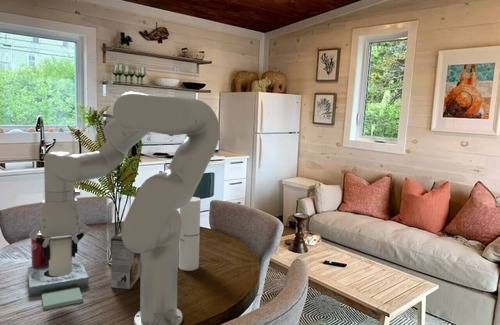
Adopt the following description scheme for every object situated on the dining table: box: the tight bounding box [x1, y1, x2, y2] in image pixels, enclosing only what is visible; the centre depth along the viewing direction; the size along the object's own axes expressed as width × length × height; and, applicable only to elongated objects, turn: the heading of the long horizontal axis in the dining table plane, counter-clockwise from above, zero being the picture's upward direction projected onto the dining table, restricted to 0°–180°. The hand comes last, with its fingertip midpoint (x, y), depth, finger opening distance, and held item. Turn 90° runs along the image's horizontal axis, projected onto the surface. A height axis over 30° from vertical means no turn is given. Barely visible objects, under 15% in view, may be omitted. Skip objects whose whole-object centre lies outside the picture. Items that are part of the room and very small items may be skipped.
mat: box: [41, 287, 84, 310], centre depth 112 cm, size 8×10×1 cm
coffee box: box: [110, 229, 141, 290], centre depth 123 cm, size 9×6×16 cm
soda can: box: [30, 231, 49, 267], centre depth 134 cm, size 7×7×12 cm
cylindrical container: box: [178, 196, 202, 272], centre depth 137 cm, size 7×7×25 cm
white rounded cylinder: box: [49, 235, 73, 277], centre depth 110 cm, size 6×6×10 cm
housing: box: [27, 259, 89, 298], centre depth 123 cm, size 16×16×3 cm
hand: (60, 256), depth 110 cm, fingers closed on white rounded cylinder, 6 cm apart
